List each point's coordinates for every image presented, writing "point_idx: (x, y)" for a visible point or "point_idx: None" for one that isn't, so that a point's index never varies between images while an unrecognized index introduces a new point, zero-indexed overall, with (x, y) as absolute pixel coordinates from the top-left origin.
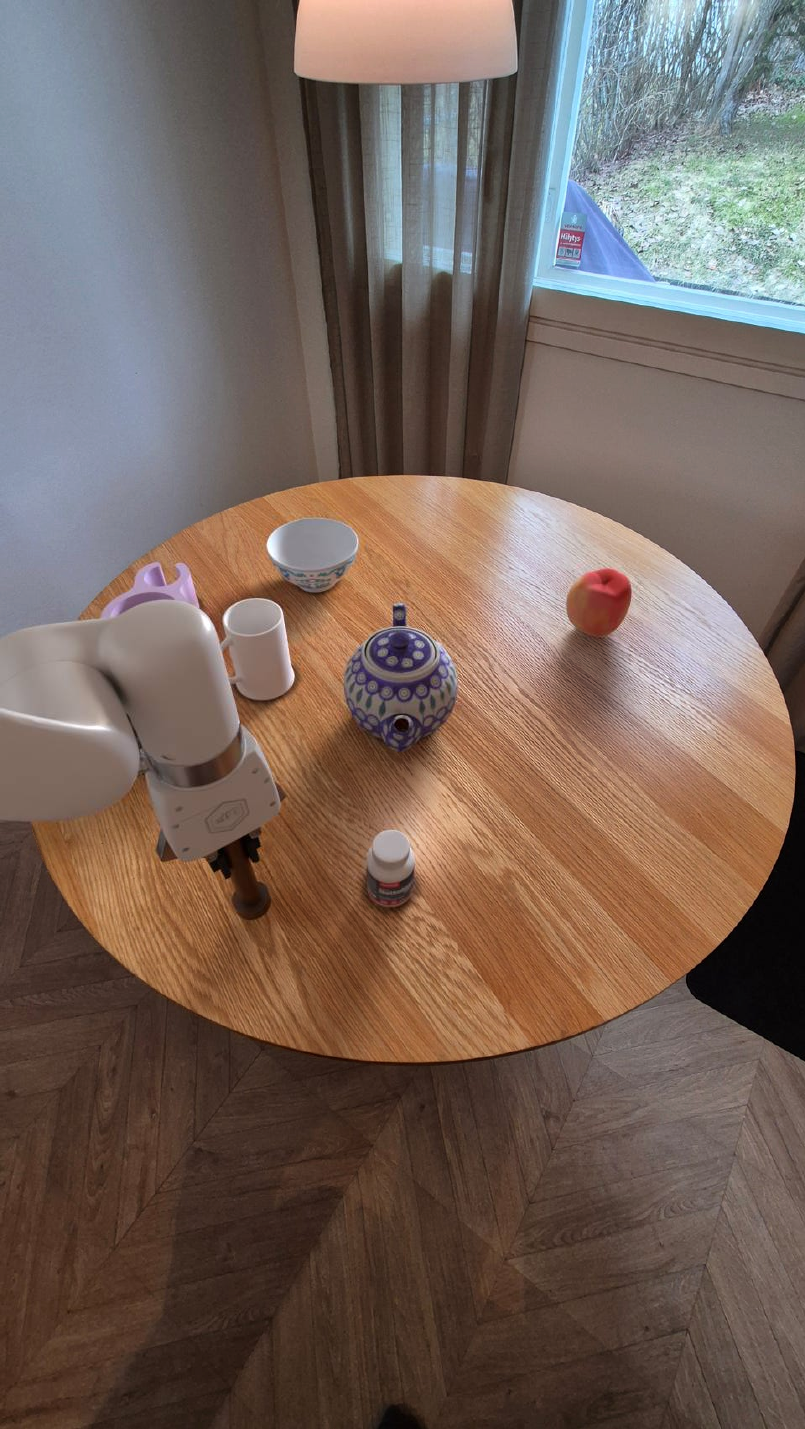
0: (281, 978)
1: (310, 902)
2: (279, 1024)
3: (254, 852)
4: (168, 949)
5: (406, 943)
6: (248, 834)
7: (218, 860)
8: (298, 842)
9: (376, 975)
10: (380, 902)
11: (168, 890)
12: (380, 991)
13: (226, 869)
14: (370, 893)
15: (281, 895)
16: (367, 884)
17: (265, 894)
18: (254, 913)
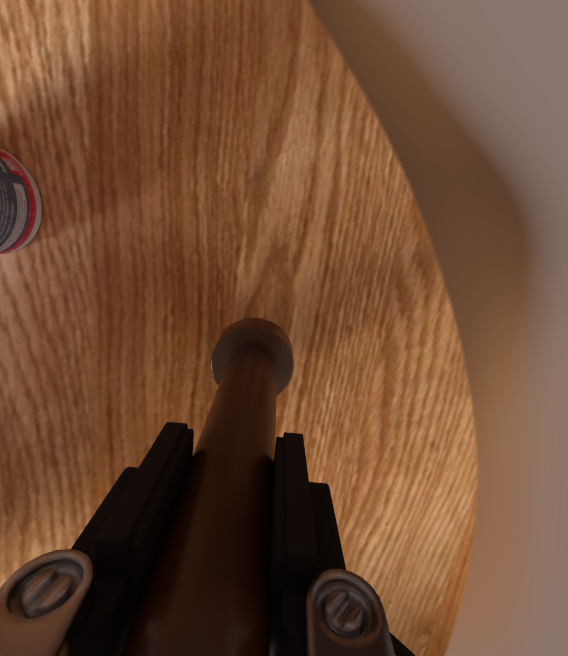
0: (294, 191)
1: (160, 288)
2: (351, 111)
3: (152, 468)
4: (417, 381)
5: (30, 59)
6: (97, 594)
7: (317, 556)
8: (112, 409)
9: (129, 46)
10: (22, 173)
11: (356, 472)
12: (142, 7)
13: (291, 472)
14: (29, 206)
15: (199, 338)
16: (18, 224)
17: (223, 349)
18: (267, 328)
